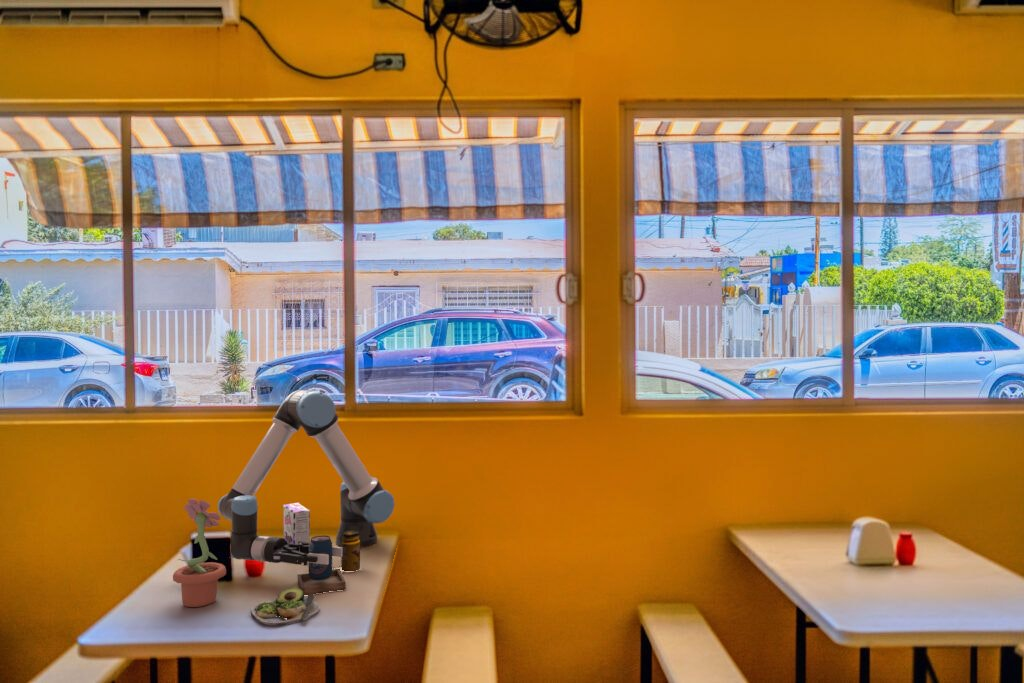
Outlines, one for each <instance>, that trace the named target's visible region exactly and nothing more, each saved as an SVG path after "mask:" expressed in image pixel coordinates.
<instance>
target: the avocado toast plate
mask: <svg viewBox="0 0 1024 683" xmlns="http://www.w3.org/2000/svg"><path fill="white" fill-rule="evenodd" d="M314 599H315V595H313V594H309V595H308V596H304V592H303V590H301V589H300V588H299V587H291V588H288V589H284V590H282V591H281V592H280V593H279V594H277V597H276V598H275V599H274V600H268V601H263V602H260V603H257V604H255V605H254V606H252V607H251V609H250V614H251V617H253V619H256V620H257V621H258V622H259V623H262V624H264V625H266V626H268V627H269V626H270V627H279V626H286V625H287V624H288V625H291V624H290V623H292V624H294V622H295V623H298V622H297V621H300V622H303V621H308V619H309V618H310V617H312V616H313V615H315V614H317V613H318V612H319V611H320V610H321V605H319V603H317V602H315V601H314ZM276 616H277V617H276ZM279 616H280V617H283V618H287V620H285V619H284V620H285V621H284V620H280V621H278V620H276V621H271V620H266V619H272V618H280V617H279ZM271 617H272V618H271ZM262 618H263V619H262Z"/></svg>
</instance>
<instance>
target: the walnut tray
mask: <svg viewBox="0 0 1024 683" xmlns="http://www.w3.org/2000/svg"><path fill="white" fill-rule="evenodd" d="M343 575H344V574H342V573H341V571H340V569H335V570H333V569H332V574H331V576H330V578H329V579H326V580H322V581H314V580H311V578H310V577H309V572H307V573H299V574H298V573H297V585H298V588H300V589H301V590H303V592H304V595H309V594H316V593H322V594H324V593H323V592H329V591H336V592H338V591H337V590H343V591H345V590H344V589H346V587H347V586H346V583H347V582H346V580H345V579H346V578H344V576H343ZM346 590H347V589H346ZM329 593H330V592H329ZM316 595H317V594H316Z"/></svg>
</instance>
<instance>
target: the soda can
mask: <svg viewBox="0 0 1024 683" xmlns="http://www.w3.org/2000/svg"><path fill="white" fill-rule="evenodd" d="M332 547H333V541H332V539H331V536H330V535H316V536H313V537H311V538H310V543H309V553H316V554H326V555H329V564H328V565H326V564H316V563H308V573H309V577H310V578H311V580H314V581H322V580H326V579H329V578H330V576H331V574H332V570H333V569H332V568H333V556H332Z"/></svg>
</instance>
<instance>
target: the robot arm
mask: <svg viewBox="0 0 1024 683" xmlns="http://www.w3.org/2000/svg"><path fill="white" fill-rule="evenodd" d="M338 422H339V416H338V415H337V413H336V405H335V403H334V400H333V399H332V398H331V396H330V395H328V394H327V393H324V392H323V391H319V390H309V389H297V390H295V391H293V392H291V393H290V394H289V395H287V396H286V398H285V399H284V400H283V402H282V403H281V405H280V406H279V408H278V409H277V411H276V412H275V414H274V416H272V424H271V426H270V427H269V428H268V431H267V432H266V434H265V435H264V437H263V438H262V439H261V442H260V443H259V445H258V446H257V448H256V449H255V451H254V453H253V454H252V455H251V457H250V459H249V461H248V462H247V463H246V466H245V467H244V468H243V470H242V472H241V473H240V475H239V477H238V478H237V480H236V481H235V482H234V484H233V485H232V487H231V489H230V491H229V492H228V493H227V494H225V495H223V496H222V497H221V498H220V499H219V501H218V503H217V510H218V512H219V514H220V515H221V516H222V517H223V518H224V519H227V520H228V521H230V522H231V533H230V534H229V535H231V557H232V559H236V560H245V561H257V562H260V563H263V564H264V562H265V563H266V562H267V563H275V564H279V563H284V564H285V563H286V564H290V565H297V566H300V565H302V564H303V566H308V564H309V563H316V564H326V565H328V564H329V555H326V554H316V553H309V543H310V542H302V541H299V542H298V544H295V543H289V544H288V543H287V541H286V540H285V539H284V537H277V536H268V535H258V509H259V506H258V499H257V497H256V496H255V495H256V493H257V492H258V491H259V488H260V487H261V485H262V483H263V481H264V480H265V478H266V477H267V476H268V474H269V473H270V471H271V469H272V468H273V466H274V464H275V462H276V461H277V459H278V458H279V456H281V453H282V452H283V450H284V448H285V447H286V445H288V444H287V443H288V442H289V440H290V439H291V437H292V435H293V434H294V433H298V431H299V430H300V429H301V427H302V429H303V430H304V431H305V433H306V435H307V437H310V438H314V439H315V440H316V442H317V443H318V445H319V446H320V448H321V449H322V451H323V453H324V454H325V455H326V457H327V458H328V460H329V461H330V462H331V465H332V466H333V467H334V469H335V470H336V473H337V474H338V475H339V477H340V478H341V480H342V481H343V482H341V484H340V490H339V493H340V494H339V496H340V524H339V526H338V528H337V529H338V530H337V534H336V537H335V544H336V545H337V546H332V557H337V558H338V557H340V558H341V557H342V547H341V542H342V540H343V539H342V537H343V536H342V534H343V533H344V532H346V531H358V532H359V540H360V548H361V547H367V546H370V545H371V546H372V545H373V544H375V543H377V542H378V532H377V529H376V526H375V524H381V523H383V522H386V521H387V520H388V519H389V518H390V517H391V516H392V514H393V512H394V508H395V499H394V496H393V494H391V492H390V491H388V490H385V488H384V487H383V486H382V484H381V483H380V481H379V479H378V478H377V477H374V476H371V475H370V474H369V472H368V471H367V468H366V467H365V465H364V464H363V463H362V461H361V459H360V457H359V456H358V455H357V453H356V451H355V450H354V448H353V446H352V445H351V443H350V441H349V440H348V439H347V437H346V435H345V434H344V432H343V431H342V429H341V428H340V426H339V425H338ZM299 551H300V552H299ZM307 554H308V556H307Z"/></svg>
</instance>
